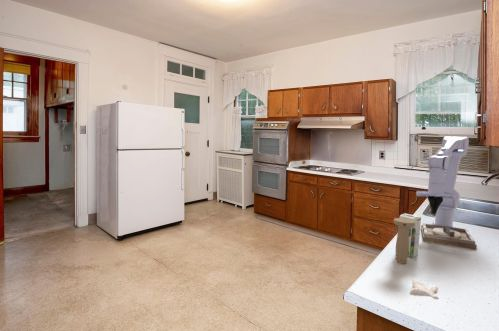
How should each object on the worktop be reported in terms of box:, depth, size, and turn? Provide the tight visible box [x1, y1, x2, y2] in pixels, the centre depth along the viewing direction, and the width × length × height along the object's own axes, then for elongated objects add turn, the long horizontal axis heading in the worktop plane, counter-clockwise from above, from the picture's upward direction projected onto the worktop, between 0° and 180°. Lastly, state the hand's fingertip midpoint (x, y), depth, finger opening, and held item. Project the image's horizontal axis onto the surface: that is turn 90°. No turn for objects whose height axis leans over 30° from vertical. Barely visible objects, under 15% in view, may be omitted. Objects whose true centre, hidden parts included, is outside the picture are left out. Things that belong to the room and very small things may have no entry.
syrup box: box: [398, 213, 422, 258], centre depth 108 cm, size 6×6×14 cm
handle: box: [393, 217, 415, 265], centre depth 100 cm, size 5×6×15 cm
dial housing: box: [420, 222, 478, 250], centre depth 125 cm, size 18×18×3 cm
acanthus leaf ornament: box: [409, 279, 440, 300], centre depth 83 cm, size 8×7×2 cm
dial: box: [433, 226, 461, 238], centre depth 124 cm, size 12×10×3 cm
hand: (433, 213), depth 129 cm, fingers closed
